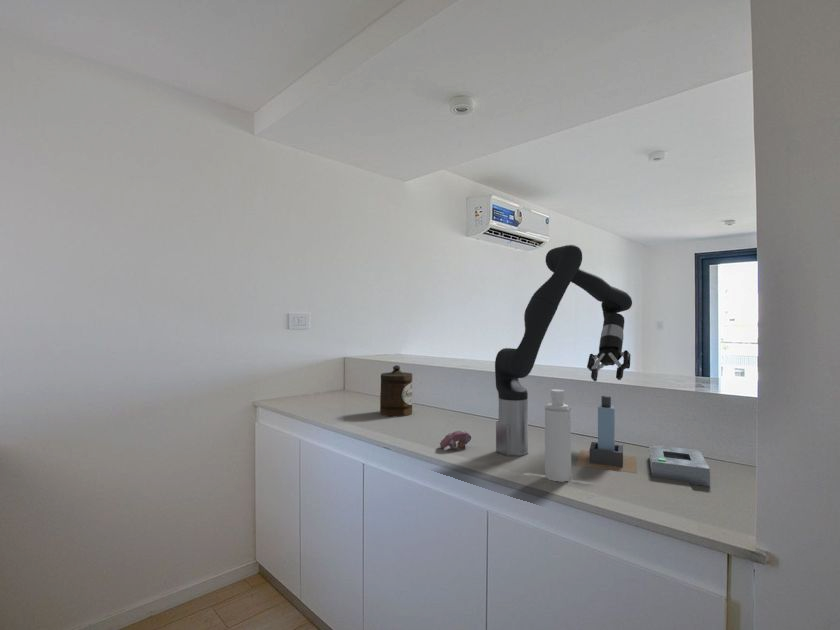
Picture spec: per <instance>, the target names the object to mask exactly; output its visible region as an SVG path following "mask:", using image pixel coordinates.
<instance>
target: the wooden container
mask: <svg viewBox="0 0 840 630" xmlns="http://www.w3.org/2000/svg"><path fill="white" fill-rule="evenodd" d="M392 369H393V370H392V371H391V372H383V373H381V374H380V394H379V395H380V398H379V400H380V401H379V404H380V405H379V407H380V408H379V413H380V415H382V416H385V415H386V416H385V417H393V416H397V417H406V415H407V416H411V415H412V414H413V373H411V372H404V371H403V372H402V371H401V367H400V365H394V366H392Z"/></svg>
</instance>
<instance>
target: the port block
mask: <svg viewBox="0 0 840 630" xmlns="http://www.w3.org/2000/svg"><path fill="white" fill-rule="evenodd" d="M648 459H649V465H650V472H651V477H653V478H661V479H669V480H676V481H683V482H688V483H689V484H690V485H695V486H703V487H711V468H710V466H709V465H708V463H707V461H706V460H705V459H706V458H705V457H704V455H703V453H702V452H701V450H700V449H692V448H685V447H684V448H682V447H675V446H674V447H673V446H666V445H665V446H663V445H655V444H648Z"/></svg>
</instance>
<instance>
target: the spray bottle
mask: <svg viewBox="0 0 840 630" xmlns="http://www.w3.org/2000/svg"><path fill="white" fill-rule="evenodd" d="M565 393H566V392H565V390H564V389H559V388H557V389H556V388H555V389H553V388H552V389H550V398H551V402H550V403H547V405H545V406H544V475H545V478H546V479H547V478H548V479H547V480H549V479H550V480H549V481H551V480H554V481H553V482H555V481H562V482H561V483H565V482H564V481H568V482H570V481H571V480H572V408H571V407H570V406H569V405H568V404H565V402H564V399H565Z"/></svg>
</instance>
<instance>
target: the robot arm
mask: <svg viewBox="0 0 840 630" xmlns="http://www.w3.org/2000/svg"><path fill="white" fill-rule="evenodd" d="M582 262H583V252H582V250H581V248H580V247H579V246H578V245H575V244H567V245H563V246H558V247H554V248H552V249H550V250H548V252H547V253H546V255H545V264H546V267H547V268H548V270H549V271H551V272H552V275H551V276H550V277H549V278H548V279H547V280H546V281H545V282H544V283H543V284H542V285H540V287H538V289H536V291H535V292H534V293H533V295H532V296H531V297H530V299H529V301H528V304H527V306H526V308H525V311H524V314H523V315H524V316H523V317H524V318H523V320H524V334H523V336H522V339H521V341H520V343H519V344H518V346H517V348H511V347H505V348H502V349H500V350H499V351H498V352H497V354H496V357H495V362H494V374H495V375H494V376H495V388H496V391H497V392H498V393H497V396H498V421H496V422H495V450H496V452H498V453H500V454H502V455H505V456H507V457H510V456H513V457H516V456H517V457H518V456H525V455H527V454H528V453H529V448H528V447H529V443H528V442H529V439H528V438H529V429H528V427H529V426H528V425H529V422H528V421H529V420H528V418H529V416H528V415H529V414H528V413H529V408H528V407H529V406H528V405H529V404H528V401H529V400H528V395H529V394H528V390H527V388H525V387H524V386H523V385H522V383H520V381H519V379H525V378H526V377H528V375H529V374H530V373H531V372H532V369H533V368H534V366H535V362H536V359H537V357H538V353H539V351H540V347H541V345H542V342H543V340H544V337H545V335H546V333H547V332H548V328H549V326H550V324H551V323H552V320H554V317H555V314H556V312H557V310H558V308H559V305H560V304H561V301H562V299H563V297H564V295H565V293H566V291H567V290H568V287H569V285H570V284H571V283H572V284H574V285H575V286H578V287H579V288H581V289H583V290H584V292H586V293H587V294H589V295H590V296H591V297H593V299H595V300H596V301H598V302H600V303H601V305H600V306H601V310H602V316H603V324H602V330H601V332H600V338H599V339H600V340H599V346H598V353H597V354H593V353H590V354H589V357H588V361H587V365H586V368H587V369H588V370H589V371H590V372H591V374H590V378H591V380H592V381H593V382H597V380H598V376H599V371H600V370H601V369H603V368H604V367H607V366H615V365H616V366H617V367H616V374H615V376H616V377H615V378H616V379H617V380H618V381H621V380H622V379H623V377H624V371H625V370H626V369H627V370H628V369H630V368H631V353H630V352H629V351H628V350H623V343H624V328H625V317H624V316H623V315H622V314H620V313H621V312H622V313H623V312H625V311H628V310H630V309H631V308H632V307H633V300H632V297H631V296H630V295H629V293H627V292H625V291H624V290H622V289H620V288H617V287H615V286H612V285H611V284H609V283H608V282H607V281H605V280H604V279H603V278H602V277H600V276H598V275H597V274H595V273H592V272H589V271H586V270H584V269H581V268H580V267H581V265H582ZM621 358H623V361H622V362H620V359H621Z"/></svg>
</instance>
